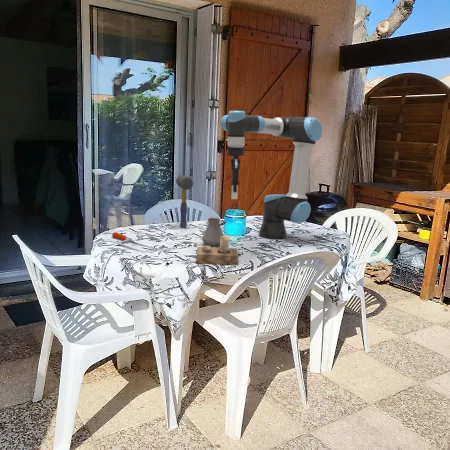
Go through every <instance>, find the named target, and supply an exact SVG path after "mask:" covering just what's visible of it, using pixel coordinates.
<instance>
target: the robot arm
mask: <svg viewBox="0 0 450 450" xmlns="http://www.w3.org/2000/svg"><path fill="white" fill-rule="evenodd" d="M220 126H221V127H220V128H221V129H222V130H223V131H225V132H227V138H226V139H225V141H226V142H227V149H226V150H227V151H226V154H227V156H231V157H232V158H231V159H230V163H231V165H230V168H231V182H230V185H231V200H238V195H239V194H238V193H239V192H238V189H239V185H240V182H239V174H240V172H239V171H240V164H241V160H240V158H239V157H243V156H244V155H245V147H244V146H245V139H246V138H245V135H246V134H247V133H248V134H249V133H252V134H253V133H255V134H268V135H272V136H274V137H278V138H279V137H280V138H283V139H284V138H285V139H288V140H292V143H293V145H294V151H293V159H292V164H291V165H292V167H291V171H290V172H291V174H290V179H289V188H288V192H287V193H286V194H283V193H280V194H279V193H277V194H275V193H274V194H266V195H265V196H264V201H263V212H262V213H263V214H262V223H261V225H260V227H259V230H258V236H259V237H261V238H264V239H268V238H269V239H270V240H281V239H282V240H283V239H285V238H287V230H286V229H287V228H286V227H285V226H286V225H285V221H287V222H292V223H293V224H294V223H295V224H296V223H297V224H302V223H304V222H305V221H306V220H307V219H308V218H309V217H310V214H311V209H312V207H311V204H310V203H309V202H308V196H307V195H306V189H307V185H308V176H309V171H310V163H311V157H312V150H313V148H314V147H315V146H316V145H317V144H316V143H317V142H318V141H319V140H320V139H321V138H322V134H323V127H322V126H323V125H322V123H321V122H320V120H319V119H318V118H316V117H313V116H283V117H278V116H277V117H274V118H265V117H263V116H261V115H248V114H247V115H246V111H244V110H229V112H228V114H225V115H223V116H222V117H221V119H220ZM245 133H246V134H245Z"/></svg>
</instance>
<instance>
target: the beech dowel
mask: <svg viewBox="0 0 450 450" xmlns="http://www.w3.org/2000/svg"><path fill="white" fill-rule="evenodd" d="M219 248H220V253H229V248H230V236H229V235H225V234H223V235H222V236H220V246H219Z"/></svg>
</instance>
